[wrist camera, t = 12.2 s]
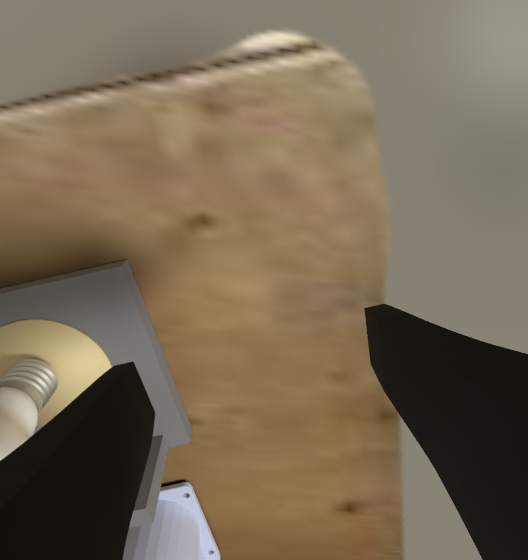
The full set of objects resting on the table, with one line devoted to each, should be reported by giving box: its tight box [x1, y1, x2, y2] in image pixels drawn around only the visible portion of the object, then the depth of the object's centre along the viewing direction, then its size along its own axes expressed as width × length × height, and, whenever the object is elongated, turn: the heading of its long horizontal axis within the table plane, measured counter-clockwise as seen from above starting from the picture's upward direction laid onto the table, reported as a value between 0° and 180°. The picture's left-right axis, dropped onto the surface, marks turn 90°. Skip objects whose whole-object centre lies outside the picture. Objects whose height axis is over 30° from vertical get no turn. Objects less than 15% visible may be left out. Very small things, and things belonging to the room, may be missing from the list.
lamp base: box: [0, 259, 192, 528], centre depth 19 cm, size 13×15×6 cm
